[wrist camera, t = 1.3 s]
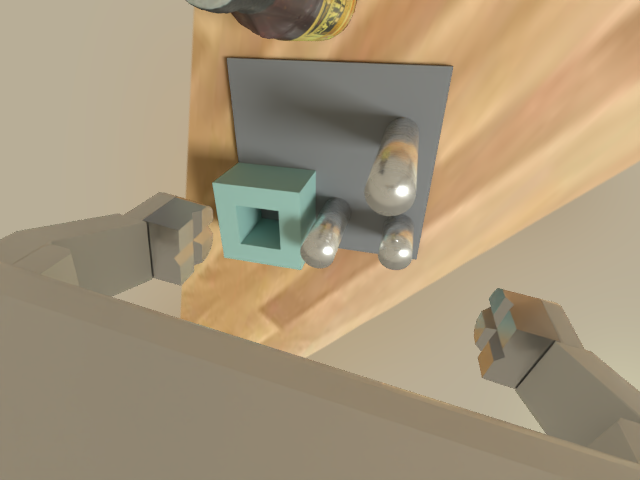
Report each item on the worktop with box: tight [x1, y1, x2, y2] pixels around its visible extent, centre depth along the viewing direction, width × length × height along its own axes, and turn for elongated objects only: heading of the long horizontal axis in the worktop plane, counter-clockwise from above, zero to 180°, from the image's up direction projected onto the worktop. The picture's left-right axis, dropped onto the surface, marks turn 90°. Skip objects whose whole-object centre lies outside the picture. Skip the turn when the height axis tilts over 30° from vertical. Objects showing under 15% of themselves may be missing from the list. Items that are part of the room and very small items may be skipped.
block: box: [212, 163, 316, 270], centre depth 39 cm, size 9×9×6 cm
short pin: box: [378, 214, 414, 270], centre depth 36 cm, size 3×3×6 cm
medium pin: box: [300, 198, 351, 268], centre depth 36 cm, size 3×3×9 cm
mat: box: [227, 58, 453, 259], centre depth 37 cm, size 21×20×1 cm
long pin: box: [364, 117, 419, 216], centre depth 28 cm, size 3×3×14 cm
